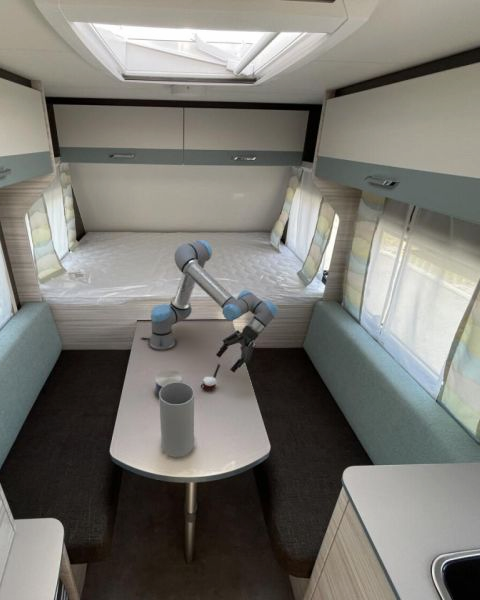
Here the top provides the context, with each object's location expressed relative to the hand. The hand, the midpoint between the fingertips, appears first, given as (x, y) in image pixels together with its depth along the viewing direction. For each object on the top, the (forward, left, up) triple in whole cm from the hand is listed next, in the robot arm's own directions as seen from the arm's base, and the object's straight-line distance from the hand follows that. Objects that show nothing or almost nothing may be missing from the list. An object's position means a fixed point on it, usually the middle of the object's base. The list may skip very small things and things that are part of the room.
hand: (224, 363), depth 155 cm
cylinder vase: (+11, -41, -12) cm, 44 cm away
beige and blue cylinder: (-15, -23, -12) cm, 30 cm away
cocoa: (-3, -7, -12) cm, 14 cm away
